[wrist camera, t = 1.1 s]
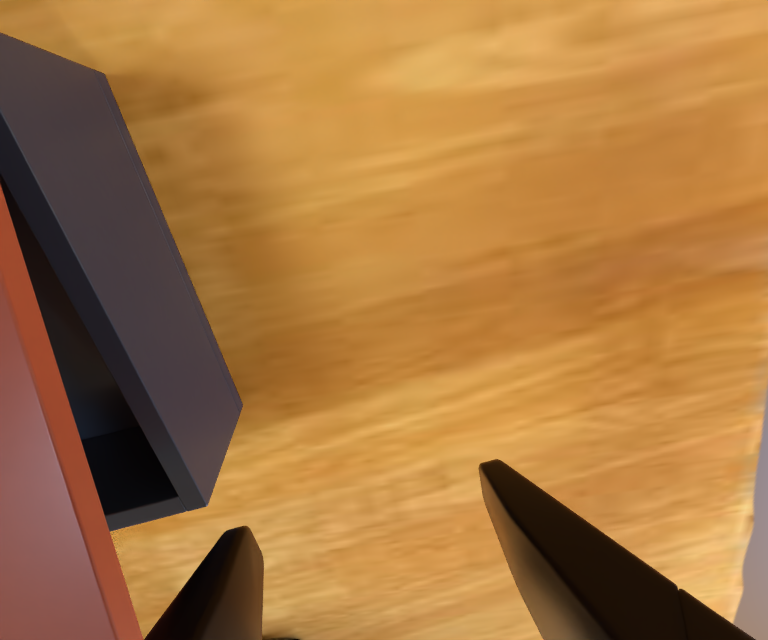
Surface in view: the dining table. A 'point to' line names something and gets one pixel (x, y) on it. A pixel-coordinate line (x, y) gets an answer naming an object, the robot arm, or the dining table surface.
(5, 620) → the lid
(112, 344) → the box
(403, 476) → the dining table surface
